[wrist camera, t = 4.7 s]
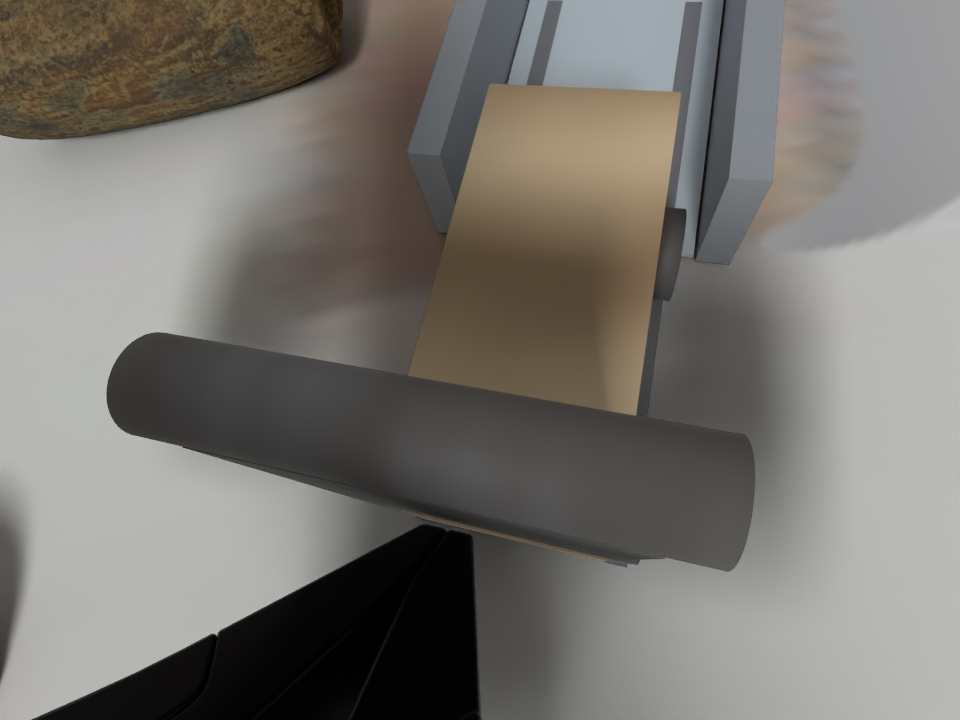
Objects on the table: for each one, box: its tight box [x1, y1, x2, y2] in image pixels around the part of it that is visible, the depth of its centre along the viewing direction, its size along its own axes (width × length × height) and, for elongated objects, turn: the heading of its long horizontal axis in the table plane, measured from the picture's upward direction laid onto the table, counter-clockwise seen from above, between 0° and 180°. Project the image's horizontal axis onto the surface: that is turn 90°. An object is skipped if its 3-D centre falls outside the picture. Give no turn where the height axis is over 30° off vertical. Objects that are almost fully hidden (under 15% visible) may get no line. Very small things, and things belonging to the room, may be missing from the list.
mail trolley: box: [107, 83, 755, 572], centre depth 11 cm, size 10×6×12 cm, turn 167°
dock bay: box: [407, 0, 785, 567], centre depth 17 cm, size 25×10×5 cm, turn 167°
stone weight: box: [0, 0, 343, 140], centre depth 21 cm, size 15×7×7 cm, turn 103°
